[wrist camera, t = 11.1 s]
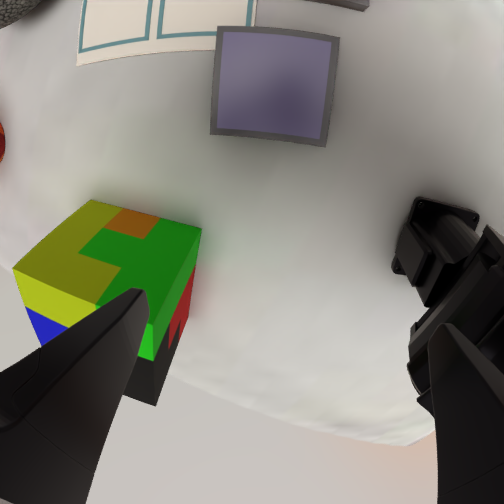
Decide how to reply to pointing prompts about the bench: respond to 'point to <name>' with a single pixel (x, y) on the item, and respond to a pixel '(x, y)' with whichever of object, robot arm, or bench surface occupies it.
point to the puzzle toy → (114, 280)
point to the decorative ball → (15, 10)
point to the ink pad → (273, 84)
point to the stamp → (347, 3)
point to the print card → (155, 26)
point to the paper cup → (2, 143)
